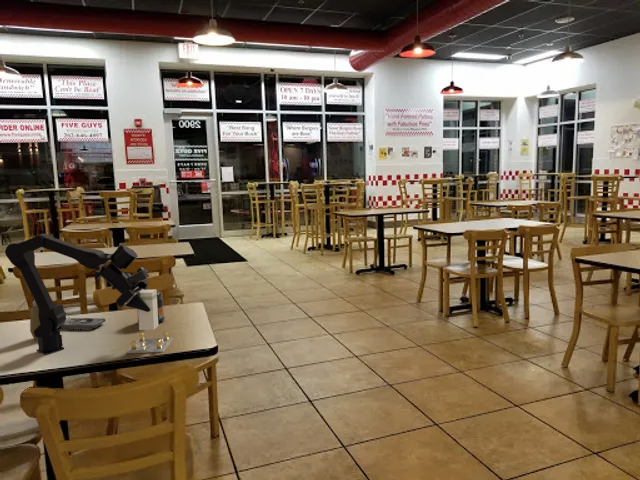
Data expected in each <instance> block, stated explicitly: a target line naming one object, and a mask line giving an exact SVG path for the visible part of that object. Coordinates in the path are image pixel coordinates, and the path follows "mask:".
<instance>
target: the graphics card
mask: <svg viewBox="0 0 640 480" xmlns="http://www.w3.org/2000/svg"><path fill="white" fill-rule="evenodd" d="M105 322H106V318H104V317H102V318H101V317H100V318H99V317H97V318H96V317H95V318H93V317H89V318H88V317H71V316H66V321H65V323H64V324H63V325H62V327H61V329H60V330H58V331H61V330H62V331H69V330H71V331H74V330H77V331H88V330H89V331H90V330H92V329H95V328H99V327H100V326H101V325H103V323H105ZM73 329H74V330H73ZM78 329H79V330H78ZM80 329H82V330H80Z"/></svg>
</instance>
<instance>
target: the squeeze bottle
mask: <svg viewBox="0 0 640 480" xmlns="http://www.w3.org/2000/svg"><path fill="white" fill-rule="evenodd" d="M29 313H30V314H29V315H30V316H29V317H30V318H29V319H30V321H29V324H30V325H29V332H30V335H32V337H33V339H34V340H35V341H38V337H36V336H35V334H34V330H35V329H36V328H37V327H38V326H39V325H40V322H39V318H38V306H37V304H36V302H35V300H33V301H32V307H31V308H30V312H29Z"/></svg>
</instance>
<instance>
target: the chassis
mask: <svg viewBox="0 0 640 480" xmlns="http://www.w3.org/2000/svg"><path fill="white" fill-rule="evenodd" d="M138 334H139V335H138V336H139V337H138V338H137V340H131V341H130V347H129V348H128V349H127V350H126V354H147V353H164V351H165V350H166V349H167V348H168V347H169V345H170V344H171V343H172V342H173V337H169V332H168V331H164V332H163V333H162V335H163V337H157V338H154V337H153V338H152V337H151V338H145V333H144V332H140V333H138Z"/></svg>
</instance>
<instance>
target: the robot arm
mask: <svg viewBox="0 0 640 480" xmlns="http://www.w3.org/2000/svg"><path fill="white" fill-rule="evenodd" d="M41 248H43V249H46V250H47V251H51V252H54V253H58V254H60V255H63V256H65V257H68V258H71V259H73V260H75V261H77V262H78V264H79V265H82V266H83V267H85V268H87V269H89V270H95V271H94V280H95V281H96V280H99V279H100V278H103V279H104V280H105V281H106V282H107V283H109V284H110V286H111V289H112V290H117V291H118V292H119V293H120V295H119V296H118V297H117V299H116V300H115V302H116V303H115V304H116V305H117V307H119V308H122V307H124V306H125V307H129V308H133V309H136V310H137V309H140V310H143V311H146V312H149V311H150V308H149V307H148V306H147V305H146V304H145V302H144V301H143V300H142V299H141V298H140V292H139V291H141V290H148V287H149V286H148V285H149V284H150V282H149V281H148V280H147V279H148V278H149V277H150V275H149V270H147V269H146V267H145V268H144V267H142V266H141V267H139V268H137V269H136V272H135V273H134V274H130V273H125V272H124V271H122V269H124V270H126V269H127V268H129V266H131V264H132V263H133V262H134V261H135V260H136V259H137V258H138V254H137V253H136V251H134V249H132V248H130V247H128V246H125V245H124V244H123V243H122V244H120V245H119V246H118V247H117V249H116V250H115V251H114V252H113V253H105V252H104V251H103V250H100V249H95V248H87V247H80V246H79V245H76V244H72V243H70V242H67V241H65V240H64V241H63V240H61V239H58V238H56V237H53V236H50V235H49V234H47V233H41V234H37V235H35V236H34V237H32V238H31V237H30V238H29V239H27V240H22V241H21V240H20V241H17V242H12V243H10V244H8V245H7V246H6V248H5V250H4V254H5V256H6V257H7V259H8V260H9V261H10V263H11V264H12V265H13V266H14V267H15V268H16V269H18V270H19V271H20V273H21V275H22V278H23V280H24V281H25V283H26V286H27V287H28V290H29V292H30V294H31V296H32V298H33V301H35V302H36V304H37V306H38V318H39V322H40V325H39V326H38V327H37V328H36V329H35V330H34V334H35V336H36V337H38V340H37V342H38V343H37V344H38V345H37V346H38V349H36V352H37V353H40V354H43V355H49V354H53V353H54V352H55V353H56V352H59V351H61V350H64V349H65V347H64V346H63V336H62V334H61V330H60V329H61V327H62V325H63V324H64V323H65V322H66V320H67V319H66V318H67V316H66V315H67V314H68V312H66V310H64V306H63V304H62V303H59V304H57V303H55V302H54V300H53V299H52V297H51V295H50V293H49V290H48V288H47V287H46V285H45V283H44V280H43V278H42V277H41V274H40V272H39V271H38V270H39V269H38V268H37V266H36V263H35V262H36V261H35V259H36V255H35V251H36V250H38V249H41ZM107 263H109V264H107ZM100 267H101V268H100ZM98 268H100V269H99V270H96V269H98ZM58 330H59V331H58Z"/></svg>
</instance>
